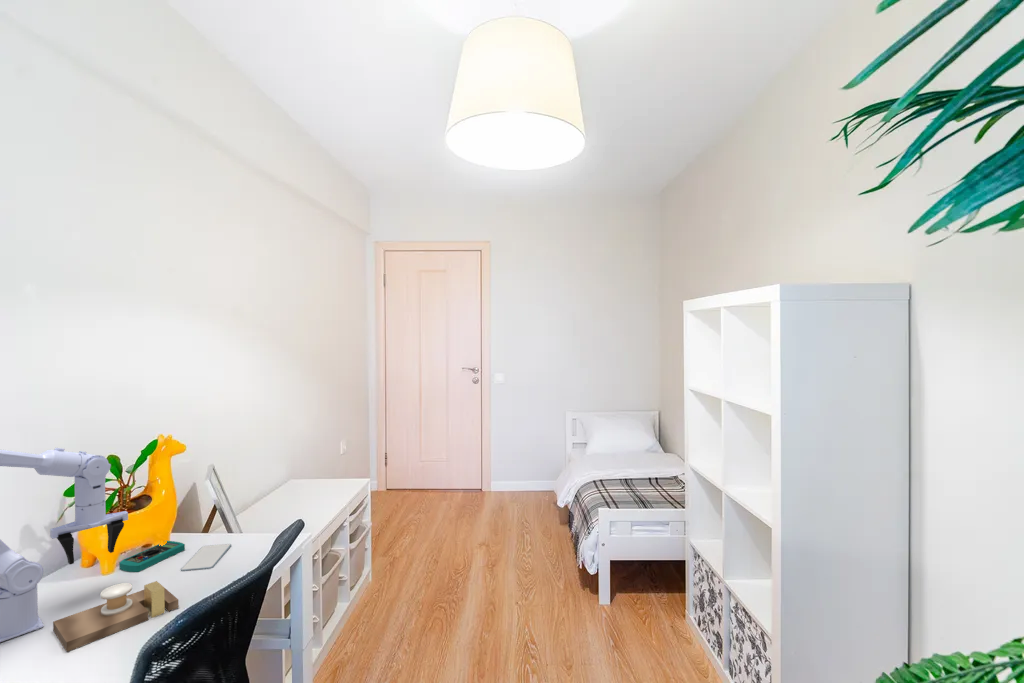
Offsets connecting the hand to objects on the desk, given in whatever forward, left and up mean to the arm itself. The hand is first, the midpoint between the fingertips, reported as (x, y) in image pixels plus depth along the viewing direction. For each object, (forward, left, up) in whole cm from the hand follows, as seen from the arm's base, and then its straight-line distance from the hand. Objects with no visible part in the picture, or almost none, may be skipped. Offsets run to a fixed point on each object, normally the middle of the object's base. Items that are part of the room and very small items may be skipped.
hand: (91, 557), depth 121 cm
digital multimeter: (+16, +11, -11) cm, 23 cm away
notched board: (+1, -17, -10) cm, 20 cm away
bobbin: (+1, -16, -8) cm, 18 cm away
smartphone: (+26, 0, -10) cm, 28 cm away
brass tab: (+7, -20, -10) cm, 24 cm away
